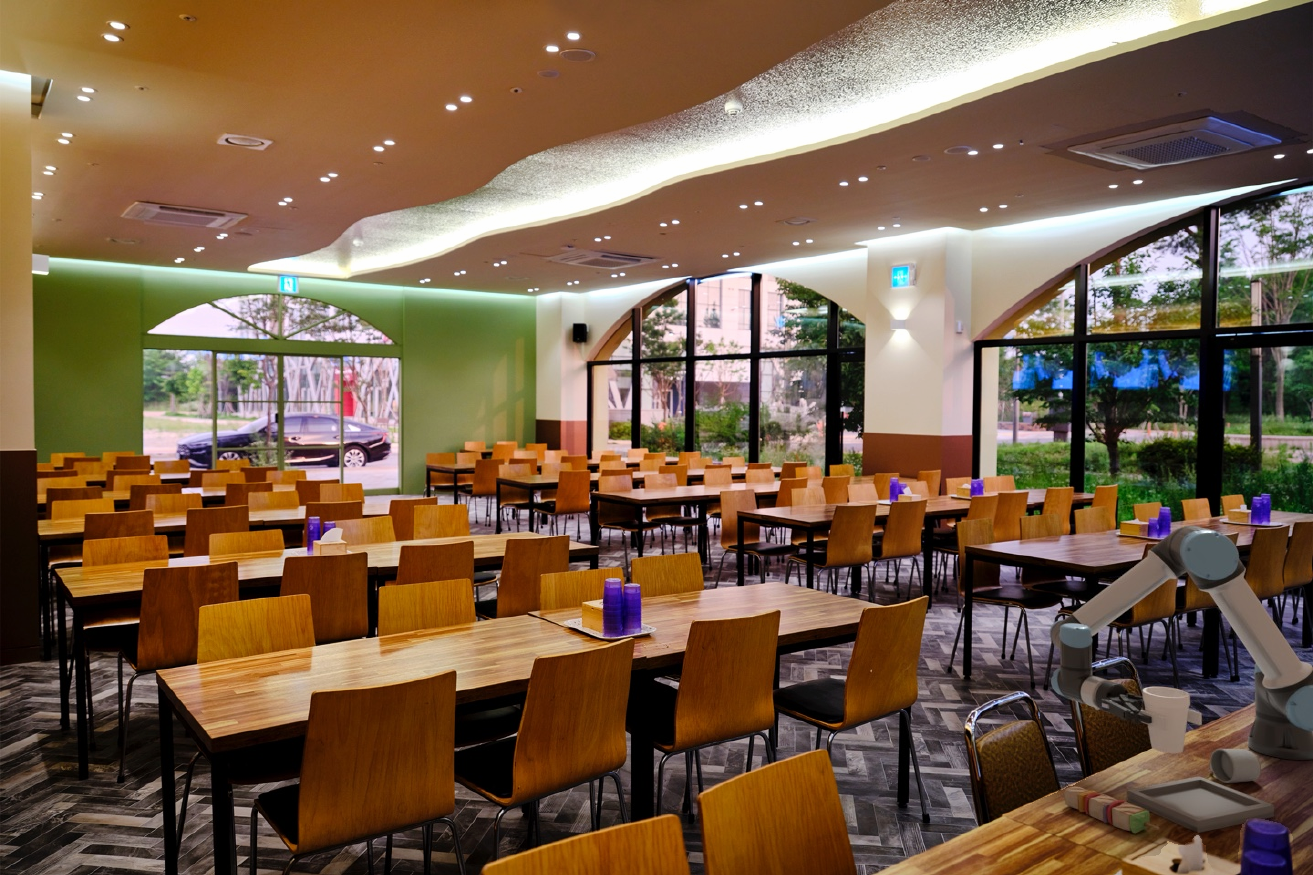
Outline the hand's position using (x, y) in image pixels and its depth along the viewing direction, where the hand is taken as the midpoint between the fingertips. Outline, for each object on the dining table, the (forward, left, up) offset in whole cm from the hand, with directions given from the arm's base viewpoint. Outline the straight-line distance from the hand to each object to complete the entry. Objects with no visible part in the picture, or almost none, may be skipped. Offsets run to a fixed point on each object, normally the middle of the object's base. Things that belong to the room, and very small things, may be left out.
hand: (1183, 721), depth 204 cm
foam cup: (0, -5, -8) cm, 9 cm away
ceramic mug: (-21, -6, -18) cm, 29 cm away
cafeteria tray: (+1, +4, -18) cm, 18 cm away
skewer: (+24, +2, -18) cm, 30 cm away
